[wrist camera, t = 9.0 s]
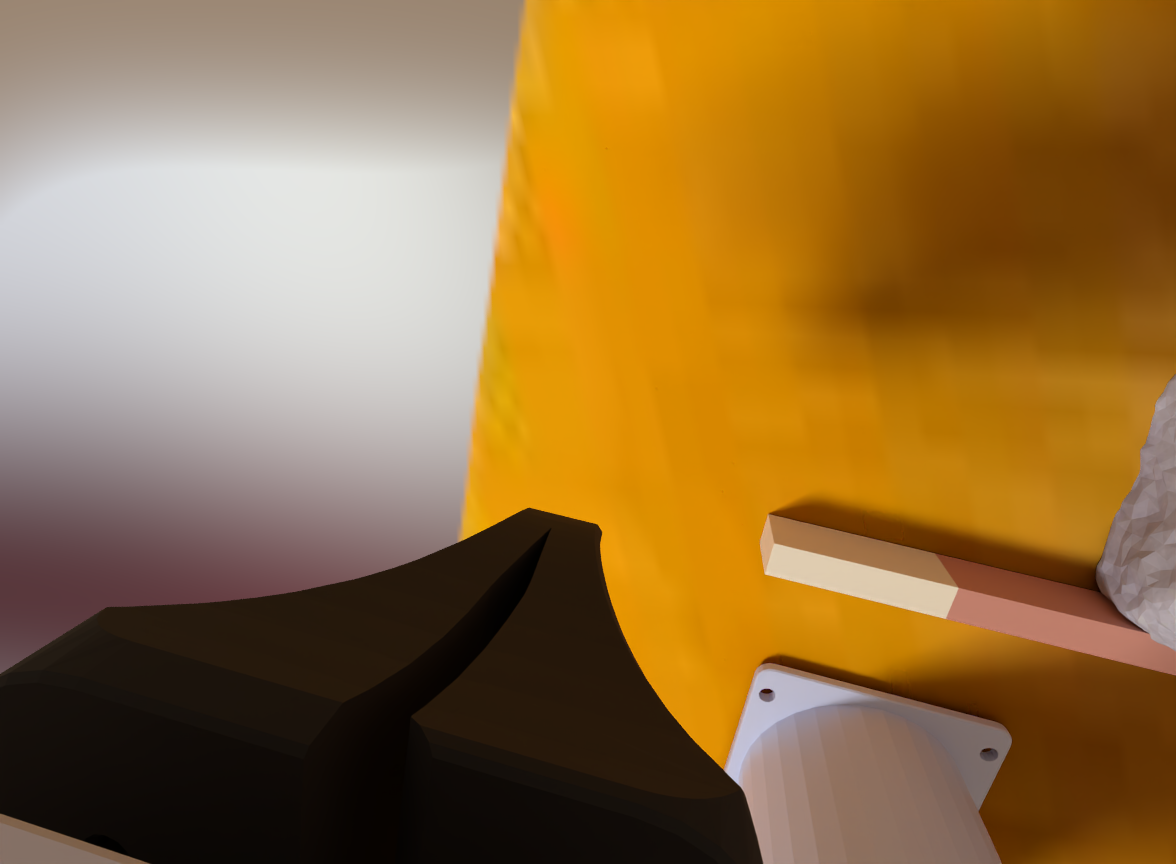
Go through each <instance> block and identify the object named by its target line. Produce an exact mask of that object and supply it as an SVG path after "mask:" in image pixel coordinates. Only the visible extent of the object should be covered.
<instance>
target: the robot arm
mask: <svg viewBox="0 0 1176 864" xmlns="http://www.w3.org/2000/svg"><path fill="white" fill-rule="evenodd" d="M601 536H602V531H601V529H600V528H599V526H598V525H597V524H593V523H589V522H585V521H581V520H577V519H573V518H569V517H565V516H561V515H557V514H553V513H549V512H544V511H540V510H536V509H532V508H527V509H525V510H522V511H520V512H518V513H516V514H514V515H513V516H511V517H509V518H507V519H505V520H503V521H501V522H499V523H497V524H495V525H493V526H491V527H489V528H487V529H485V530H483V531H481V532H479V533H477V534H475V535H473V536H471V537H469V538H467V539H465V540H463V541H461V542H458V543H456V544H454V545H451V546H449V547H447V548H444V549H442V550H439V551H437V552H435V553H432V554H430V555H428V556H425V557H423V558H420V559H418V560H415V561H412V562H410V563H407V564H404V565H401V566H398V567H395V568H392V569H389V570H385V571H382V572H379V573H375V574H372V575H369V576H365V577H361V578H358V579H354V580H349V581H345V582H340V583H336V584H331V585H326V586H321V587H316V588H312V589H308V590H302V591H298V592H292V593H286V594H279V595H272V596H265V597H258V598H249V599H240V600H231V601H222V602H210V603H198V604H177V605H157V606H135V607H107V608H105V609H103V610H101V611H100V612H99V613H97V614H95V615H94V616H92V617H90V618H89V619H87V620H86V621H84V622H82V623H81V624H79V625H78V626H76V627H74V628H73V629H71V630H70V631H68V632H66V633H65V634H63V635H62V636H60V637H58V638H57V639H55V640H54V641H52V642H51V643H49V644H47V645H46V646H44V647H43V648H41V649H40V650H38V651H36V652H35V653H33V654H31V655H30V656H28V657H26V658H25V659H23V660H22V661H20V662H19V663H17V664H15V665H14V666H13V667H11V668H9V669H7V670H6V671H4V672H3V673H1V674H0V864H1002V862H1001V860H1000V858H999V856H998V853H997V851H996V849H995V847H994V845H993V842H992V840H991V838H990V836H989V834H988V832H987V829H986V827H985V825H984V823H983V821H982V818H981V816H980V814H979V812H978V811H979V809H980V807H981V805H982V803H983V801H984V799H985V797H986V795H987V793H988V791H989V789H990V787H991V785H992V783H993V781H994V779H995V777H996V775H997V773H998V771H999V769H1000V767H1001V765H1002V763H1003V761H1004V759H1005V757H1006V755H1007V753H1008V751H1009V749H1010V747H1011V744H1012V738H1011V735H1010V734H1009V732H1008V730H1007V729H1006V728H1005V727H1004V726H1003V725H1002V724H1000V723H998V722H995V721H991V720H987V719H984V718H980V717H976V716H972V715H968V714H965V713H961V712H957V711H953V710H949V709H945V708H942V707H938V706H934V705H930V704H926V703H923V702H919V701H915V700H911V699H907V698H904V697H900V696H896V695H892V694H888V693H884V692H881V691H877V690H873V689H869V688H865V687H862V686H858V685H854V684H850V683H846V682H842V681H839V680H835V679H831V678H827V677H823V676H820V675H816V674H812V673H808V672H804V671H801V670H797V669H793V668H789V667H785V666H781V665H778V664H773V663H766V664H762V665H761V666H759V667H758V668H757V670H756V671H755V674H754V677H753V680H752V683H751V686H750V690H749V693H748V696H747V699H746V702H745V705H744V708H743V712H742V715H741V718H740V721H739V724H738V727H737V730H736V734H735V737H734V740H733V743H732V746H731V749H730V752H729V756H728V759H727V762H726V765H725V768H724V770H723V769H722V768H721V767H720V766H719V765H718V764H717V763H716V762H715V761H714V760H713V759H712V758H711V757H710V756H709V755H708V754H707V753H706V752H705V751H704V750H703V749H702V748H701V747H700V746H699V745H697V744H696V743H695V741H694V740H693V739H692V738H691V737H690V736H689V735H688V734H687V732H686V731H685V730H684V729H683V728H682V726H681V725H680V724H679V723H678V722H677V720H676V719H675V718H674V717H673V716H672V714H671V713H670V712H669V711H668V710H667V708H666V707H665V705H664V704H663V702H662V701H661V700H660V698H659V697H658V695H657V694H656V692H655V691H654V689H653V688H652V686H651V685H650V684H649V682H648V681H647V679H646V677H645V676H644V674H643V672H642V670H641V669H640V667H639V665H638V663H637V661H636V660H635V658H634V656H633V654H632V652H631V650H630V648H629V646H628V644H627V642H626V640H625V637H624V635H623V633H622V630H621V628H620V625H619V623H618V620H617V618H616V615H615V612H614V609H613V606H612V603H611V600H610V597H609V593H608V590H607V586H606V581H605V577H604V573H603V568H602V562H601V554H600V541H601ZM765 688H767V689H771V690H773V692H771V693H769V694H764V693H762V692H760V691H761V690H762V689H765ZM985 748H992V749H991V750H990V751H987V752H981V751H982V750H983V749H985Z"/></svg>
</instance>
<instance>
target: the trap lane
mask: <svg viewBox="0 0 1176 864" xmlns="http://www.w3.org/2000/svg"><path fill="white" fill-rule="evenodd" d="M760 547H761V553H762V559H763V566H764V572H765V574H766V575H770V576H774V577H778V578H783V579H787V580H791V581H795V582H799V583H803V584H807V585H811V586H815V587H819V588H823V589H827V590H831V591H835V592H839V593H843V594H847V595H851V596H855V597H860V598H864V599H868V600H872V601H876V602H880V603H884V604H888V605H892V606H896V607H900V608H904V609H908V610H912V611H916V612H920V613H924V614H928V615H932V616H936V617H941V618H945V619H949V620H953V621H957V622H961V623H965V624H969V625H973V626H977V627H981V628H985V629H989V630H993V631H997V632H1001V633H1005V634H1009V635H1013V636H1018V637H1022V638H1026V639H1030V640H1034V641H1038V642H1042V643H1046V644H1050V645H1054V646H1058V647H1062V648H1066V649H1070V650H1074V651H1078V652H1082V653H1086V654H1090V655H1094V656H1099V657H1103V658H1107V659H1111V660H1115V661H1119V662H1123V663H1127V664H1131V665H1135V666H1139V667H1143V668H1147V669H1151V670H1155V671H1159V672H1163V673H1167V674H1171V675H1176V651H1174V650H1173V649H1171V648H1170V647H1168V646H1165V645H1162V644H1160V643H1157V642H1156V641H1154V640H1152V639H1151V636H1150V634H1149V633H1148V632H1146V631H1144V630H1143V629H1142V628H1140V627H1139V626H1137V625H1136V624H1134V623H1133V622H1132V621H1130V620H1129V619H1127V618H1126V617H1125V616H1124V615H1123V614H1122V613H1121V612H1119V610H1118V609H1117V607H1116V606H1115V604H1114V603H1113V602H1112V601H1111V600H1109V599H1108V598H1107V597H1106V596H1105V595H1104V594H1102V593H1101V592H1097V591H1092V590H1088V589H1084V588H1080V587H1075V586H1071V585H1067V584H1063V583H1058V582H1054V581H1050V580H1046V579H1041V578H1037V577H1033V576H1029V575H1025V574H1020V573H1016V572H1012V571H1008V570H1003V569H999V568H995V567H991V566H986V565H982V564H978V563H974V562H969V561H965V560H961V559H957V558H953V557H948V556H944V555H940V554H936V553H931V552H927V551H923V550H919V549H914V548H910V547H906V546H902V545H897V544H893V543H889V542H885V541H881V540H876V539H872V538H868V537H864V536H859V535H855V534H851V533H847V532H842V531H838V530H834V529H830V528H825V527H821V526H817V525H813V524H809V523H804V522H800V521H796V520H792V519H787V518H783V517H779V516H775V515H770V514H768V517H767V520H766V523H765V527H764V530H763V533H762V537H761V540H760Z"/></svg>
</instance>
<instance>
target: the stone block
mask: <svg viewBox="0 0 1176 864" xmlns="http://www.w3.org/2000/svg"><path fill="white" fill-rule="evenodd" d="M1095 578H1096V581H1097V584H1098V586H1099V588H1100V590H1101V592H1102V594H1104V595H1105V596H1106V597H1107V598H1108V599H1109V600H1111V601H1112V602H1113V603H1114V604H1115V606H1116V607H1117V609H1118V610H1119V612H1121V613H1122V614H1123V615H1124V616H1125V617H1126V618H1127V619H1129V620H1130V621H1132V622H1133V623H1134V624H1136V625H1137V626H1139V627H1140V628H1142V629H1143V630H1144V631H1146V632H1148V633H1149V634H1150V636H1151V639H1152V640H1154V641H1156V642H1157V643H1160V644H1162V645H1165V646H1168V647H1170V648H1171V649H1173V650H1174V651H1176V374H1175V375H1174V376H1173V378H1172V379H1171V380H1170V381H1169V382H1168V384H1167V386H1166V388H1165V390H1164V392H1163V393H1162V395H1161V396H1160V397H1159V399H1158V400H1157V402H1156V405H1155V414H1154V416H1153V419H1152V423H1151V427H1150V431H1149V435H1148V437H1147V441H1146V444H1145V445H1144V446H1143V447H1142V448H1141V469H1140V473H1139V475H1138V477H1137V479H1136V481H1135V483H1134V485H1133V487H1132V490H1131V491H1130V493H1129V494H1128V495H1127V497H1126V498H1125V499H1124V501H1123V502H1122V505H1121V508H1120V509H1119V511H1118V512H1117V513H1116V515H1115V517H1114V519H1113V523H1112V526H1111V529H1110V533H1109V536H1108V539H1107V542H1106V545H1105V548H1104V552H1103V555H1102V558H1101V560H1100V562H1099V563H1098V565H1097V567H1096V576H1095Z"/></svg>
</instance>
